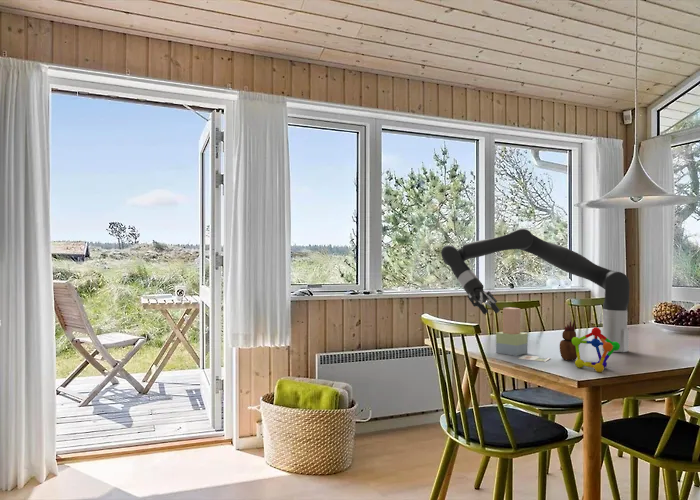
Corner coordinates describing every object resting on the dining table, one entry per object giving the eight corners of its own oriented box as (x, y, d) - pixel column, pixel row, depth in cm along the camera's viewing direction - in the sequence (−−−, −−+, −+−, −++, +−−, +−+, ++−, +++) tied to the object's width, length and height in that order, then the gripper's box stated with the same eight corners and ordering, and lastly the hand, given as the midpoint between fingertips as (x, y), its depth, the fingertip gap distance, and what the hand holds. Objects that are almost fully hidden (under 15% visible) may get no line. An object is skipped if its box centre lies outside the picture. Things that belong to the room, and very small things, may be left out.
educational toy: (623, 372, 195) (628, 330, 194) (606, 377, 187) (610, 333, 186) (580, 361, 207) (585, 321, 206) (563, 365, 198) (567, 324, 197)
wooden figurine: (578, 359, 213) (578, 320, 213) (579, 361, 208) (579, 321, 208) (559, 357, 215) (559, 319, 215) (559, 360, 210) (560, 320, 210)
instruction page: (550, 358, 213) (550, 357, 213) (545, 361, 206) (545, 361, 206) (524, 355, 219) (524, 354, 219) (518, 358, 212) (518, 357, 212)
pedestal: (527, 353, 225) (527, 333, 225) (516, 355, 218) (517, 335, 218) (506, 350, 231) (507, 330, 231) (496, 352, 224) (496, 332, 224)
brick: (520, 333, 224) (520, 308, 224) (514, 334, 221) (514, 309, 221) (509, 331, 228) (509, 307, 228) (502, 332, 225) (503, 308, 225)
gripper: (465, 277, 233) (487, 307, 224) (485, 277, 242) (507, 306, 234) (455, 289, 237) (476, 319, 228) (475, 288, 246) (496, 317, 238)
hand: (492, 312), depth 231 cm, fingers open, 8 cm apart
